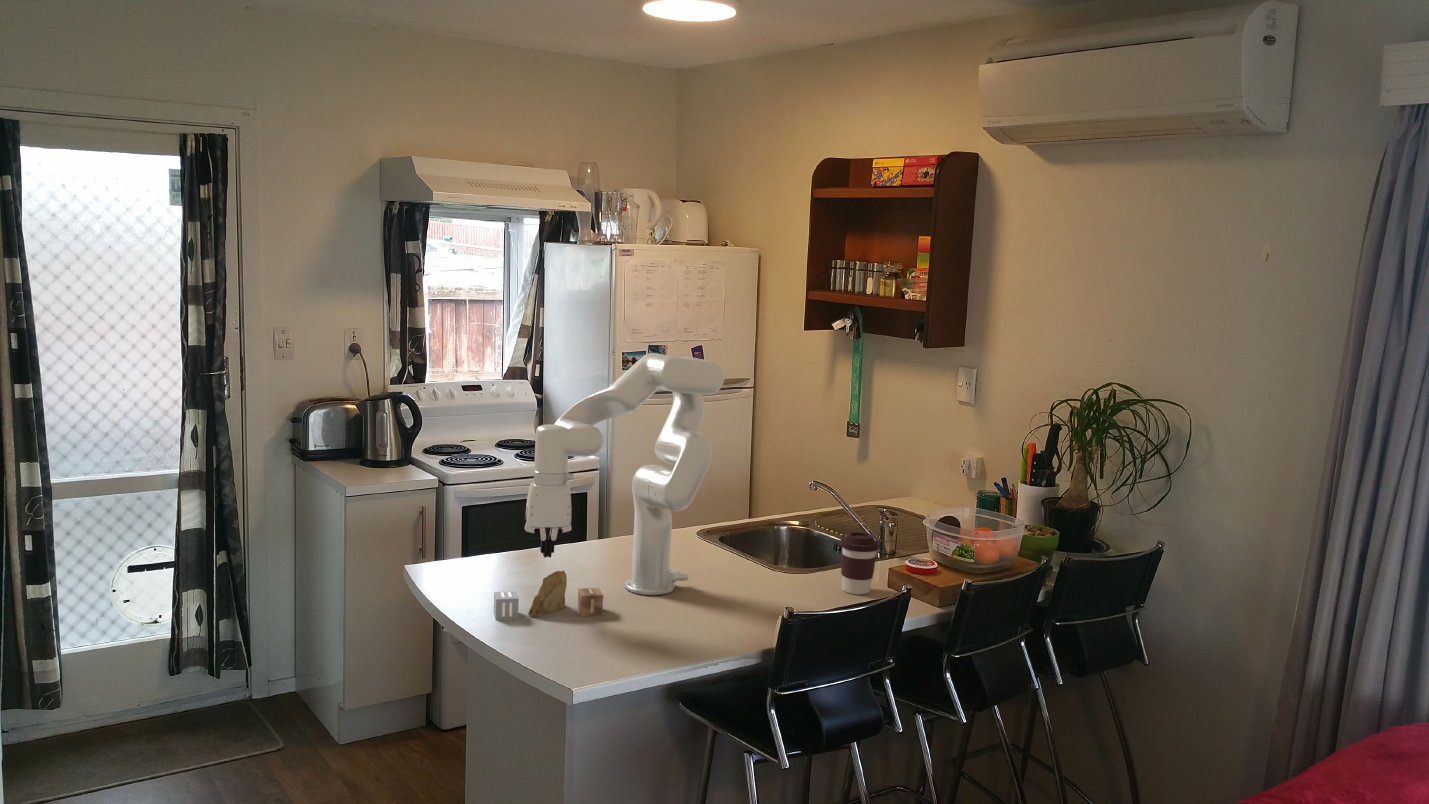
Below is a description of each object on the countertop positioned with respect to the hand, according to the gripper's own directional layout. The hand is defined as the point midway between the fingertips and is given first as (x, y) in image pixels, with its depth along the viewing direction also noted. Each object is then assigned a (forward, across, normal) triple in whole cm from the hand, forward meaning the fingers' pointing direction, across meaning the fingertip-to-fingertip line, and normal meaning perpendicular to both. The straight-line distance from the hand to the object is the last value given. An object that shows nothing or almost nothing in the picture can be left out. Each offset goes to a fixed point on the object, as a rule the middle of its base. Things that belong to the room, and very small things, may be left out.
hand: (546, 555), depth 241 cm
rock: (+14, 0, 0) cm, 14 cm away
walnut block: (+13, -10, +2) cm, 17 cm away
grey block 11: (+14, +9, +2) cm, 16 cm away
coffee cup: (+13, -81, -4) cm, 82 cm away
